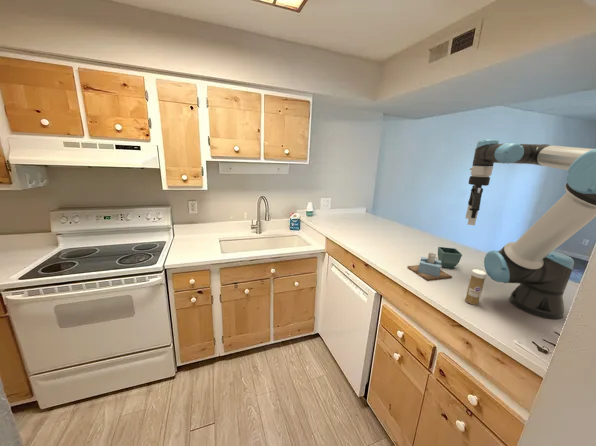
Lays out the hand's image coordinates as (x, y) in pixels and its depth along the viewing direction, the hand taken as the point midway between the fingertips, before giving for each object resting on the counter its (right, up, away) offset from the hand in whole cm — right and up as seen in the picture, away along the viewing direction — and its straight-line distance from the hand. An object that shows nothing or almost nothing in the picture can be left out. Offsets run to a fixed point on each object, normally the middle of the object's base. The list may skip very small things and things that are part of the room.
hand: (469, 221), depth 114 cm
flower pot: (-2, -24, +15) cm, 28 cm away
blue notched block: (-16, -25, +6) cm, 30 cm away
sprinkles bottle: (-12, -32, -17) cm, 39 cm away
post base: (-16, -26, +6) cm, 31 cm away
